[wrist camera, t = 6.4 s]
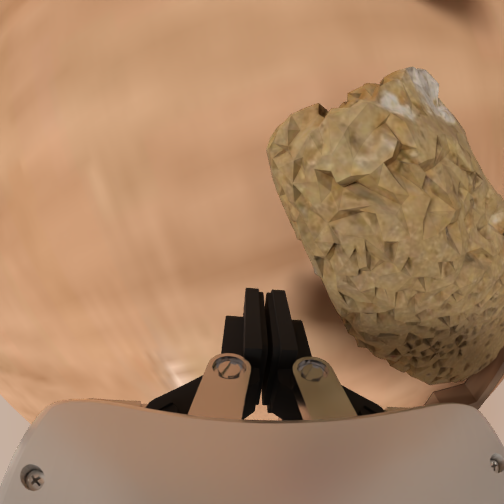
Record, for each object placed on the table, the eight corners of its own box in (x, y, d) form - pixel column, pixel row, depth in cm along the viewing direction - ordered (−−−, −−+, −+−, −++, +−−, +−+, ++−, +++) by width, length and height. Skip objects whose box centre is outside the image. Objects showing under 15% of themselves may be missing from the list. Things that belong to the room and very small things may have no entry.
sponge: (237, 170, 15) (381, 416, 17) (239, 113, 7) (431, 480, 9) (401, 87, 15) (493, 314, 17) (469, 35, 7) (556, 338, 9)
